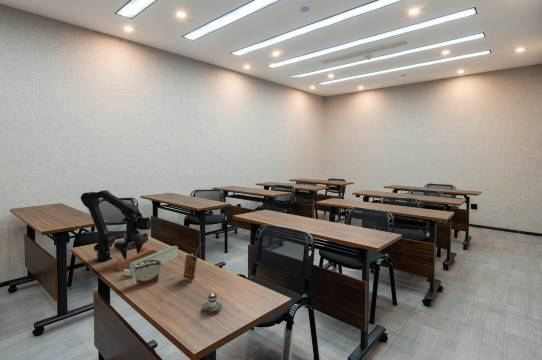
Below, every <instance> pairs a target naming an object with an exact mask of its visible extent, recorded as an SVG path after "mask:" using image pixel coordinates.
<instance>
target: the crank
mask: <svg viewBox="0 0 542 360" xmlns="http://www.w3.org/2000/svg"><path fill="white" fill-rule="evenodd" d="M157 252H158V251H157V250H155V249H153V248H151V247H149V246H142V248H141V250H140V251H139V253H138V254H134V255H132V256H131V257H127V258H126V259H124V260H117V261H116V262H115V268H116V269H117V270H118V271H119V272H124V270H125V269H127V270H130V263H131V262H134V261H136V260H139V259H141V258H144V257H146V256H149V255H152V254H154V253H157Z"/></svg>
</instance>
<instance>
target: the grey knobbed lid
mask: <svg viewBox="0 0 542 360" xmlns="http://www.w3.org/2000/svg"><path fill="white" fill-rule="evenodd" d="M207 298H208V302H205V303H203V304H202V306H201V309H202V310H203V311H204V312H205V311H206V312H216V311H218V310H220V309H222V307H223V305H222V303H221V302H219V301H217V298H218V295H217V293H215V292H213V293H212V292H211V293H209V294H208V297H207Z"/></svg>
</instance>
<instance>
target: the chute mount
mask: <svg viewBox="0 0 542 360" xmlns="http://www.w3.org/2000/svg"><path fill="white" fill-rule="evenodd" d="M178 248H179V246H178V245H177V246H176V245H173V246H172V245H171V246H170V247H167V248H165V249H162V250H159V251H157V253H154V254H152V255H149V256H146V257H144V258H141V259H139V260H136V261H134V262H131V263H130V269H128V270H127V269H125V270H123V276H127V277H132V278H136V276H135V271H133V269H134V265H135V264H136V263H137V262H140V261H143V260H151V259H153V260H159V261H160V262H161V265H164V264H165V263H167V262H169V261H171V260H173V259H175V258H177V257H179V256H178V255H179V252H178V250H179V249H178Z"/></svg>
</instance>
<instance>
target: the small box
mask: <svg viewBox="0 0 542 360" xmlns="http://www.w3.org/2000/svg"><path fill="white" fill-rule="evenodd" d="M140 234H142V233H141V232H140ZM125 238H126V233H124V232H123V241H125ZM125 242H126V241H125ZM128 249H129V250H135V249H136V244H135V242H134V243H131V244H128Z"/></svg>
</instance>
